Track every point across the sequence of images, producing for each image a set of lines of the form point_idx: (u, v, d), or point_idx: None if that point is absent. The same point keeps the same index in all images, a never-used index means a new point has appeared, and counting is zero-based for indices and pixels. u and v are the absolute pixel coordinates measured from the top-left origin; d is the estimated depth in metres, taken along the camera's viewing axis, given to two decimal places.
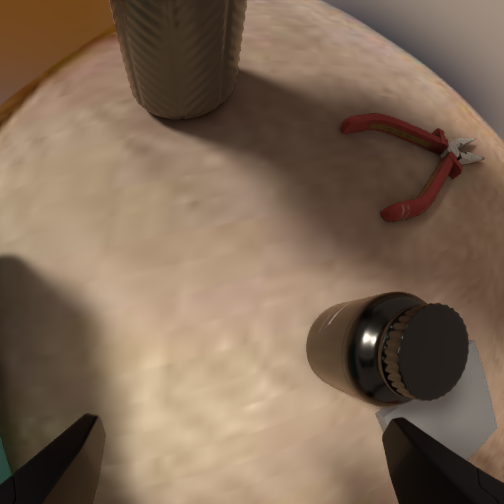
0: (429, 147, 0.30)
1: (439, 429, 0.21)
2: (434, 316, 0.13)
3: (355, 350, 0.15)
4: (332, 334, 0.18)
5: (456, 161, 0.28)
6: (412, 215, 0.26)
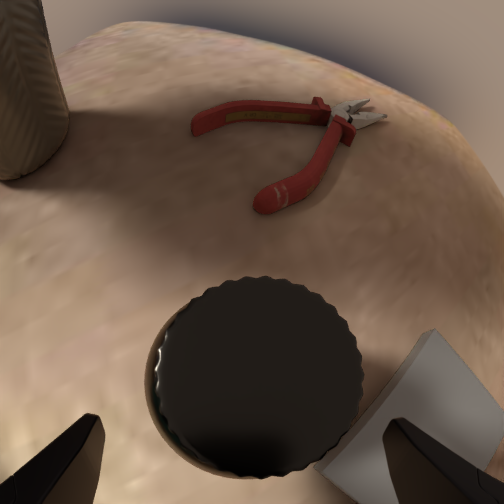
0: (309, 120, 0.28)
1: None
2: (234, 304, 0.07)
3: (150, 395, 0.09)
4: None
5: (344, 123, 0.26)
6: (296, 197, 0.22)
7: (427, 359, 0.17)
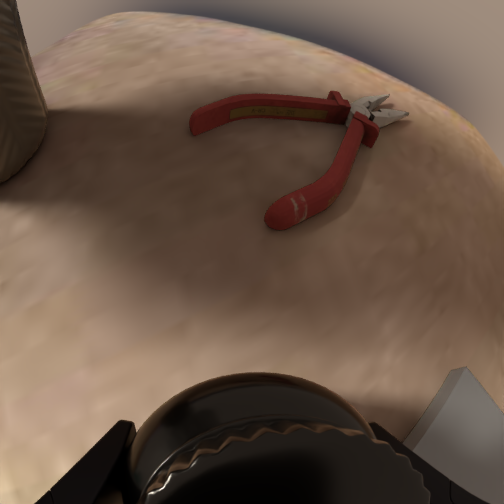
0: (325, 118, 0.24)
1: None
2: (246, 482, 0.03)
3: None
4: None
5: (367, 121, 0.22)
6: (316, 209, 0.19)
7: (457, 402, 0.14)
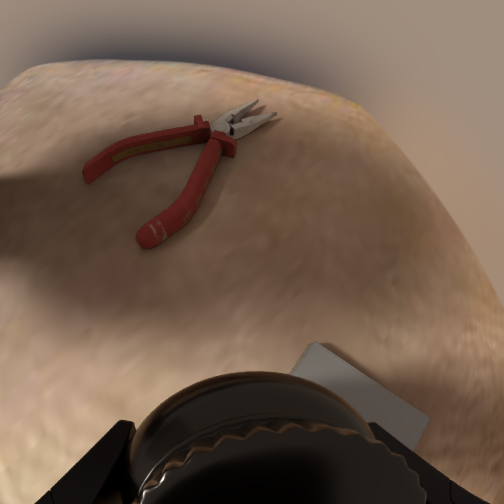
0: (191, 141, 0.29)
1: None
2: (240, 480, 0.03)
3: None
4: None
5: (222, 137, 0.28)
6: (173, 227, 0.24)
7: (308, 373, 0.20)
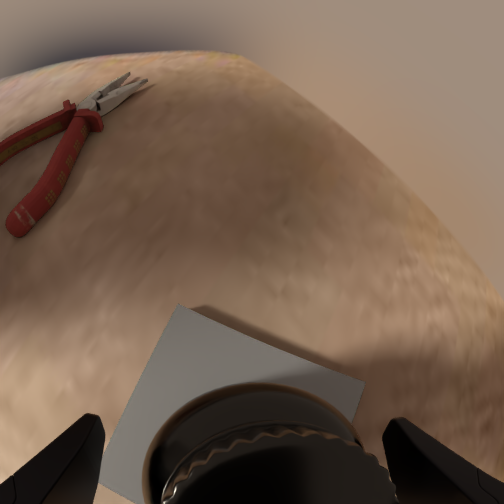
0: (62, 126, 0.24)
1: None
2: (250, 473, 0.04)
3: None
4: None
5: (85, 113, 0.23)
6: (37, 209, 0.20)
7: (173, 343, 0.17)
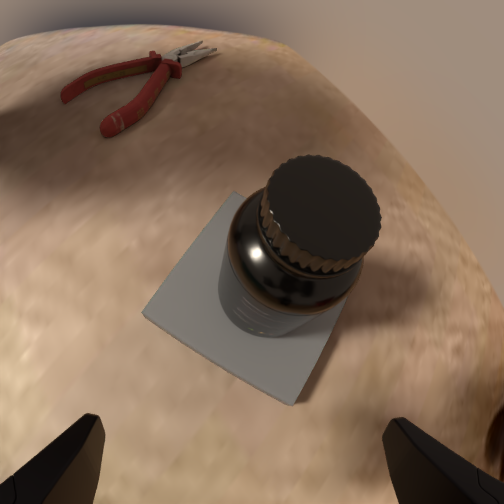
0: (146, 69, 0.32)
1: None
2: (312, 165, 0.12)
3: (236, 236, 0.14)
4: None
5: (170, 62, 0.31)
6: (129, 119, 0.27)
7: (227, 214, 0.24)
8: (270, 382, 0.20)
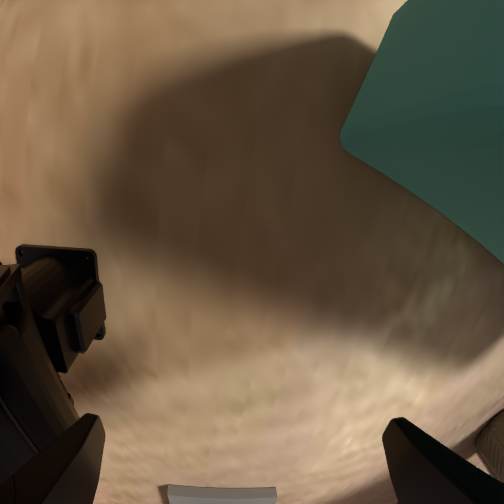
0: None
1: None
2: None
3: None
4: None
5: None
6: None
7: None
8: (187, 499, 0.26)
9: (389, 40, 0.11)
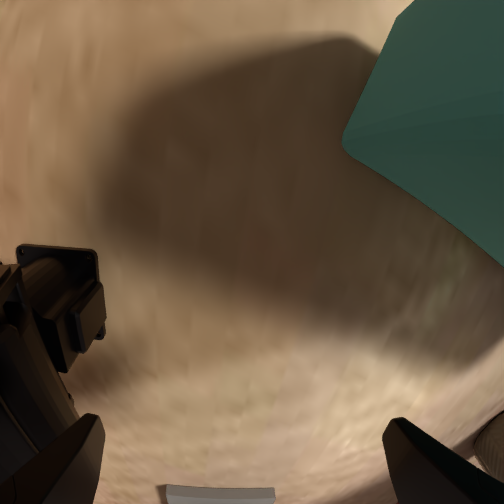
0: None
1: None
2: None
3: None
4: None
5: None
6: None
7: None
8: (186, 499, 0.26)
9: (392, 43, 0.11)
